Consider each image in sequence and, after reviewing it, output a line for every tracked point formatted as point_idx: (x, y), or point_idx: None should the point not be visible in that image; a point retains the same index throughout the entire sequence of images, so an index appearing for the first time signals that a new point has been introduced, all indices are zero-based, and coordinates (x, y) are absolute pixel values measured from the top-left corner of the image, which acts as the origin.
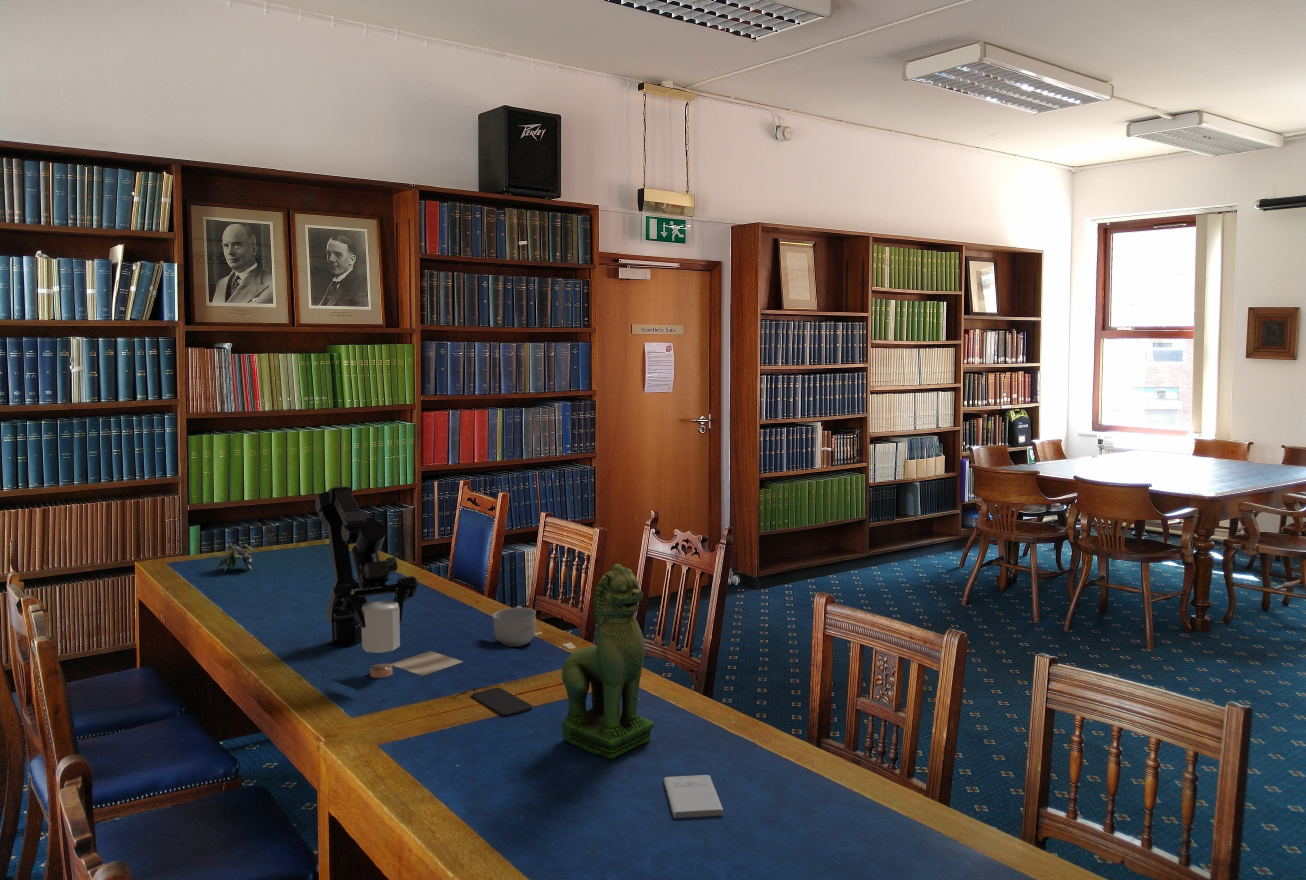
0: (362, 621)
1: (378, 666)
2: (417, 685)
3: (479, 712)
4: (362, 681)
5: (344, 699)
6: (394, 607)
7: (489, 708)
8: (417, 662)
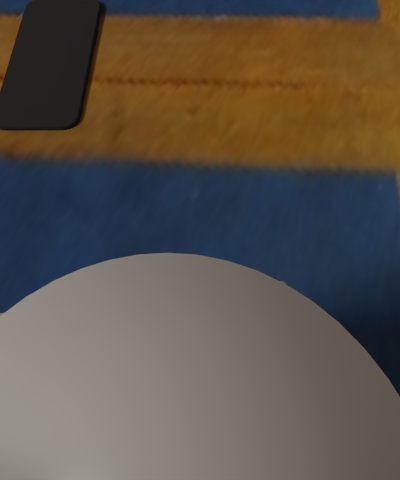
0: None
1: None
2: None
3: (123, 43)
4: None
5: (382, 315)
6: (63, 277)
7: (93, 48)
8: None
